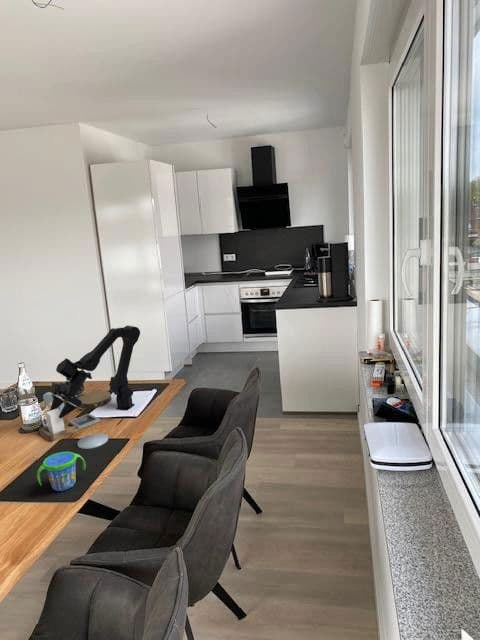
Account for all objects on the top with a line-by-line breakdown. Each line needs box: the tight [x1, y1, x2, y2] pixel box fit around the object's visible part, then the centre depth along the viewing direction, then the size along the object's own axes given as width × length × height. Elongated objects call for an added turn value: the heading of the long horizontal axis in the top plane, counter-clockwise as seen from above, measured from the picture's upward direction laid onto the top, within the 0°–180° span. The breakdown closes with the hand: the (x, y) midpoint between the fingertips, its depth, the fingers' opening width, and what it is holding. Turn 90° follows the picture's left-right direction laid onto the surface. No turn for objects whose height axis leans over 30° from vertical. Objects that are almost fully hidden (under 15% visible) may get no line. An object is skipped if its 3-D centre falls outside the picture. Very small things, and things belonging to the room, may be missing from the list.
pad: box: [76, 433, 109, 450], centre depth 197 cm, size 12×12×1 cm
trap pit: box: [67, 413, 101, 431], centre depth 216 cm, size 10×10×2 cm
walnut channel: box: [38, 419, 80, 443], centre depth 208 cm, size 12×11×2 cm
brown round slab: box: [77, 390, 112, 409], centre depth 240 cm, size 16×16×3 cm
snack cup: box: [36, 451, 87, 492], centre depth 164 cm, size 16×10×10 cm
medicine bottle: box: [63, 377, 86, 398], centre depth 253 cm, size 7×7×12 cm
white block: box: [44, 409, 65, 435], centre depth 207 cm, size 5×5×10 cm
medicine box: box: [42, 391, 65, 411], centre depth 233 cm, size 8×4×9 cm, turn 84°
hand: (55, 415), depth 206 cm, fingers open, 9 cm apart
